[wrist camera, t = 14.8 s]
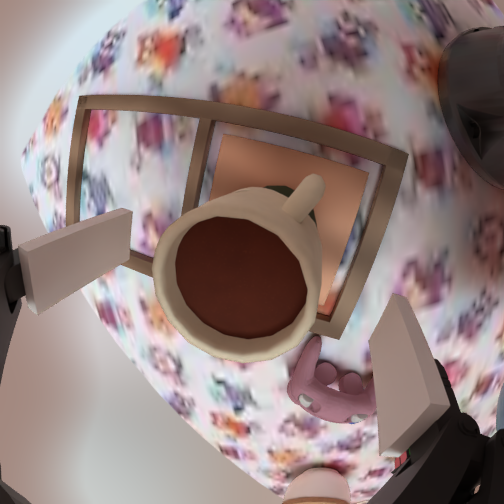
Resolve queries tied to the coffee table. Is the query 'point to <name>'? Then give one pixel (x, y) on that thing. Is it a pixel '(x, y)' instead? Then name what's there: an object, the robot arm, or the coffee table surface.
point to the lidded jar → (318, 488)
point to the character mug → (244, 271)
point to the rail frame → (269, 181)
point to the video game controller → (329, 389)
